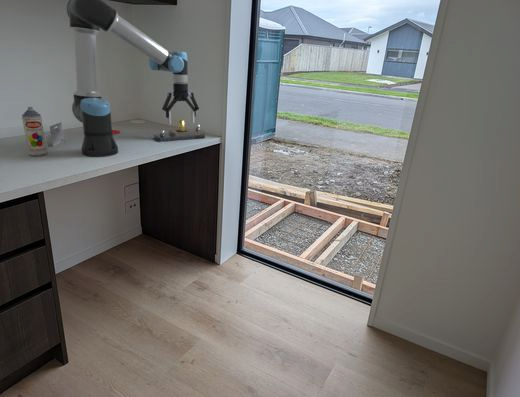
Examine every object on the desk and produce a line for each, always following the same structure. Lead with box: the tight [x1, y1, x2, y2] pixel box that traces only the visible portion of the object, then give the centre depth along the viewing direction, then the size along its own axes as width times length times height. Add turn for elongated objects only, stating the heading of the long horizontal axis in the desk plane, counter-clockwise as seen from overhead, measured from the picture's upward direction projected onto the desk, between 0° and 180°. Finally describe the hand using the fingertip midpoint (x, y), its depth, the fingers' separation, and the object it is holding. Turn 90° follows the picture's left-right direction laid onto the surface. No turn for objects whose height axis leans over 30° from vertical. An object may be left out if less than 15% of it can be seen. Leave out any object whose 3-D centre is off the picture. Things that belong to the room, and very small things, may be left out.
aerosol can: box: [21, 106, 48, 158], centre depth 152 cm, size 7×7×20 cm
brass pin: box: [177, 119, 186, 132], centre depth 199 cm, size 4×4×10 cm
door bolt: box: [153, 123, 206, 143], centre depth 199 cm, size 26×9×7 cm, turn 124°
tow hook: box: [112, 129, 121, 135], centre depth 202 cm, size 8×13×9 cm
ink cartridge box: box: [45, 122, 65, 148], centre depth 171 cm, size 2×11×10 cm, turn 1°
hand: (181, 123), depth 198 cm, fingers open, 13 cm apart
